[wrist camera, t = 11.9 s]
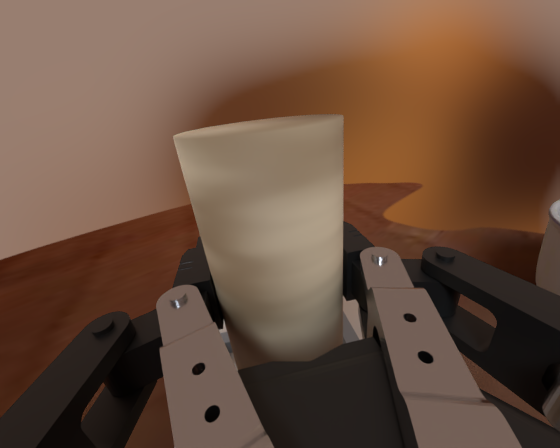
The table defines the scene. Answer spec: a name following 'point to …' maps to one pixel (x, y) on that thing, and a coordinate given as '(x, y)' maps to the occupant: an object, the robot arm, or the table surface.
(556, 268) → the teacup
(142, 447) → the table surface
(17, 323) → the table surface
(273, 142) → the maple post
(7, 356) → the table surface
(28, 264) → the table surface
